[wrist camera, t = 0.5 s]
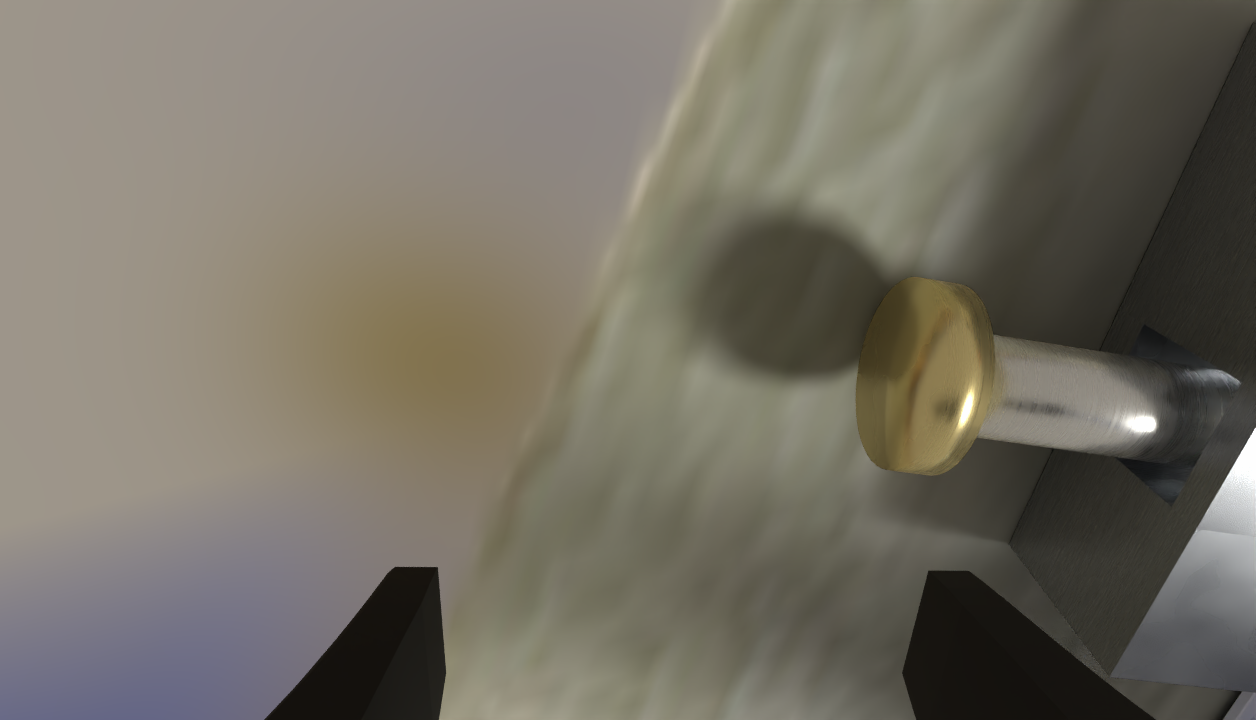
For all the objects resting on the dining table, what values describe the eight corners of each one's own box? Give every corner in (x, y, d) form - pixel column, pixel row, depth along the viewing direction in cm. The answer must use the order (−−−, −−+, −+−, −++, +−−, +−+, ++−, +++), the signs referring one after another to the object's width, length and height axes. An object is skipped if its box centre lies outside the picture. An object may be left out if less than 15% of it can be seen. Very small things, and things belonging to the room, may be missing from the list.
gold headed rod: (1265, 313, 20) (1433, 393, 16) (1183, 459, 22) (1317, 563, 18) (893, 252, 19) (973, 320, 15) (841, 410, 21) (899, 509, 17)
